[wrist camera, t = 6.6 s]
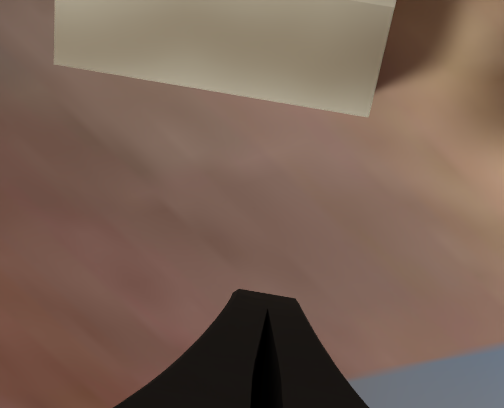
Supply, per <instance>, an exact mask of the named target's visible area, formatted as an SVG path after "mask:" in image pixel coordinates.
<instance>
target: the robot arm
mask: <svg viewBox="0 0 504 408" xmlns="http://www.w3.org/2000/svg"><path fill="white" fill-rule="evenodd" d="M113 408H369V407H368V406H367V405H366V404H365V403H364V401H363V400H362V399H361V398H360V397H359V395H358V394H357V393H356V392H355V391H354V389H353V388H352V387H351V386H350V384H349V383H348V381H347V380H346V379H345V378H344V376H343V375H342V374H341V372H340V371H339V369H338V368H337V366H336V365H335V364H334V362H333V361H332V359H331V357H330V356H329V354H328V353H327V351H326V350H325V348H324V347H323V345H322V344H321V342H320V340H319V339H318V337H317V335H316V334H315V332H314V330H313V329H312V327H311V325H310V323H309V322H308V320H307V318H306V316H305V314H304V313H303V311H302V309H301V307H300V305H299V303H298V302H297V300H296V299H295V298H289V297H283V296H278V295H272V294H266V293H260V292H254V291H248V290H243V289H238V290H236V291H235V292H233V294H232V296H231V298H230V300H229V301H228V303H227V305H226V306H225V308H224V309H223V310H222V312H221V313H220V314H219V316H218V317H217V318H216V319H215V321H214V322H213V323H212V324H211V325H210V326H209V328H208V329H207V330H206V331H205V332H204V333H203V335H202V336H201V337H200V338H199V339H198V340H197V341H196V342H195V343H194V344H193V345H192V346H191V347H190V348H189V349H188V350H187V351H186V352H185V353H184V354H183V355H182V356H181V357H180V358H178V359H177V360H176V361H175V362H174V363H173V364H172V365H171V366H169V367H168V368H167V369H166V370H165V371H163V372H162V373H161V374H160V375H158V376H157V377H156V378H155V379H153V380H152V381H151V382H150V383H148V384H147V385H146V386H144V387H143V388H141V389H140V390H138V391H137V392H136V393H134V394H133V395H131V396H130V397H128V398H127V399H125V400H124V401H123V402H121V403H120V404H118V405H117V406H115V407H113Z"/></svg>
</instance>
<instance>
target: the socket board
mask: <svg viewBox="0 0 504 408" xmlns="http://www.w3.org/2000/svg"><path fill="white" fill-rule="evenodd" d="M395 4H396V0H55V25H54V64H56V65H62V66H68V67H74V68H79V69H85V70H91V71H97V72H103V73H109V74H115V75H121V76H127V77H133V78H139V79H144V80H150V81H156V82H162V83H168V84H174V85H180V86H186V87H192V88H198V89H203V90H209V91H215V92H221V93H227V94H233V95H239V96H245V97H251V98H257V99H263V100H268V101H274V102H280V103H286V104H292V105H298V106H304V107H310V108H316V109H322V110H327V111H333V112H339V113H345V114H351V115H357V116H363V117H369V113H370V109H371V105H372V101H373V96H374V92H375V88H376V84H377V80H378V75H379V71H380V67H381V63H382V58H383V54H384V50H385V46H386V42H387V37H388V33H389V29H390V25H391V21H392V16H393V12H394V8H395Z"/></svg>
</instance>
